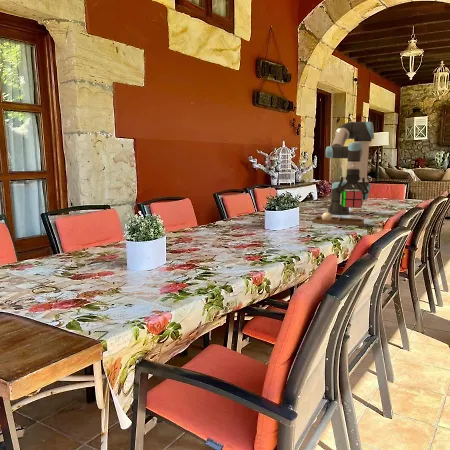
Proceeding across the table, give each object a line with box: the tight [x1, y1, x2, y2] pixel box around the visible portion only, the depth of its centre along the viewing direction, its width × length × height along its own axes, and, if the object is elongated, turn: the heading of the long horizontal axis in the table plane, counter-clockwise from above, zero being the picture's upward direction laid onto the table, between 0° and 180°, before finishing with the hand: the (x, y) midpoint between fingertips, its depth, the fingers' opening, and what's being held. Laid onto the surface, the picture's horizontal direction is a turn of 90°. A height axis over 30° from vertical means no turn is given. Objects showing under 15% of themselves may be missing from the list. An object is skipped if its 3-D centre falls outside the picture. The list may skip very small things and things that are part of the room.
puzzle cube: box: [341, 190, 363, 209], centre depth 259 cm, size 10×10×10 cm
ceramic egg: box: [321, 211, 333, 220], centre depth 266 cm, size 6×6×6 cm
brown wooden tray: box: [312, 215, 365, 229], centre depth 264 cm, size 15×29×3 cm, turn 68°
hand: (351, 204), depth 260 cm, fingers closed on puzzle cube, 12 cm apart
